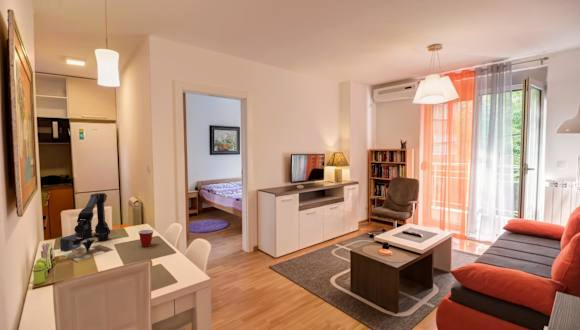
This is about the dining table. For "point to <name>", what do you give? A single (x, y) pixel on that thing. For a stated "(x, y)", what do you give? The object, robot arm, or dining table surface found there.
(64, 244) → the small box
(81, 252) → the maple block
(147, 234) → the plastic cup
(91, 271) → the dining table surface
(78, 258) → the trap deck
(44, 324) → the dining table surface
